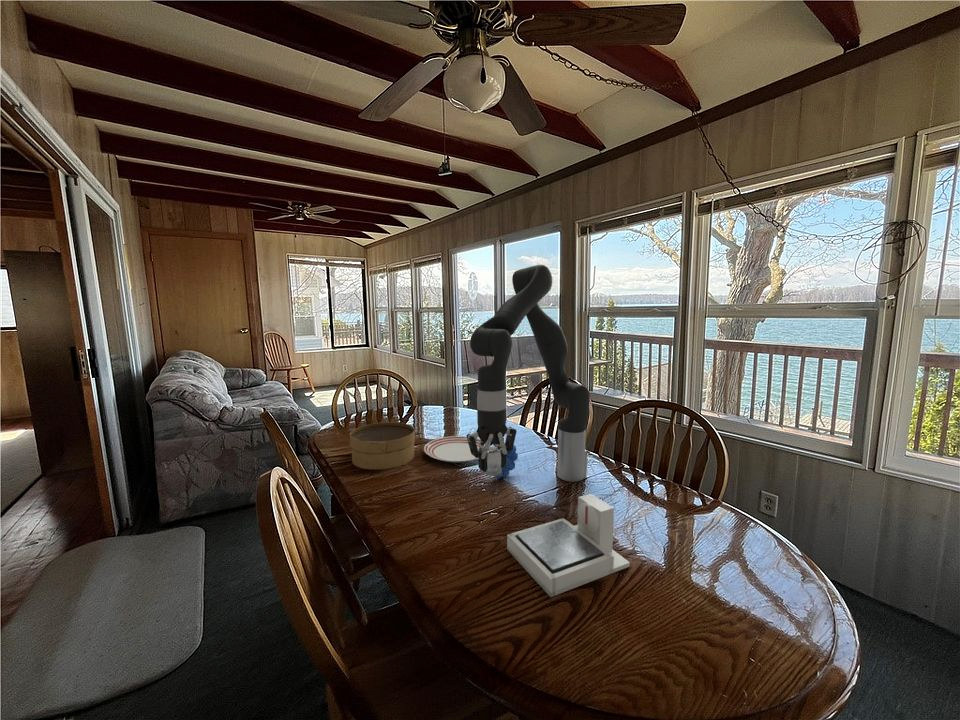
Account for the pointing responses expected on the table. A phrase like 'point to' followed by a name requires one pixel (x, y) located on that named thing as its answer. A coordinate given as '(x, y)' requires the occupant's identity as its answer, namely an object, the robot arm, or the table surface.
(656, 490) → the table surface
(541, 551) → the scale pan
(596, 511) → the scale
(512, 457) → the grapes
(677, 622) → the table surface
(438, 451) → the dinner plate
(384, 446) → the steamer basket
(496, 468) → the cylinder
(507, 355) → the robot arm
